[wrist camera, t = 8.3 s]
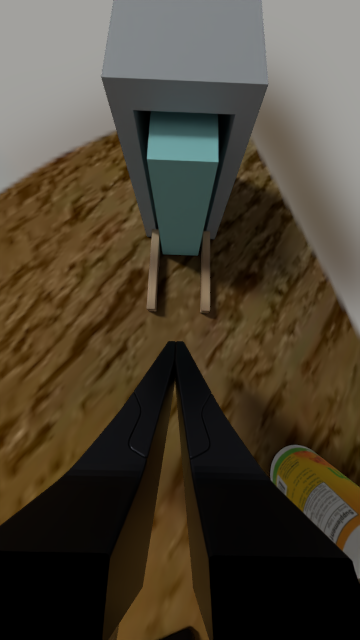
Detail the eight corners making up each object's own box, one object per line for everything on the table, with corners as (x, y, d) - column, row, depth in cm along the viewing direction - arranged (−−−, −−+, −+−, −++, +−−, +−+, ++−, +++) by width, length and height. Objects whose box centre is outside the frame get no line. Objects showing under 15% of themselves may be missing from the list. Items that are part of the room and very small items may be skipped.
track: (207, 313, 16) (209, 310, 15) (148, 311, 16) (146, 308, 15) (207, 238, 18) (210, 231, 17) (153, 236, 18) (152, 229, 17)
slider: (197, 255, 17) (218, 162, 8) (162, 254, 17) (146, 159, 8) (198, 195, 19) (217, 60, 10) (166, 194, 19) (155, 57, 10)
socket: (214, 239, 18) (268, 84, 7) (147, 236, 18) (101, 76, 7) (214, 168, 20) (257, -44, 9) (152, 165, 19) (121, -51, 9)
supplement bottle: (336, 473, 14) (667, 743, 5) (302, 523, 14) (606, 962, 4) (291, 429, 15) (501, 589, 5) (256, 475, 14) (422, 756, 4)
